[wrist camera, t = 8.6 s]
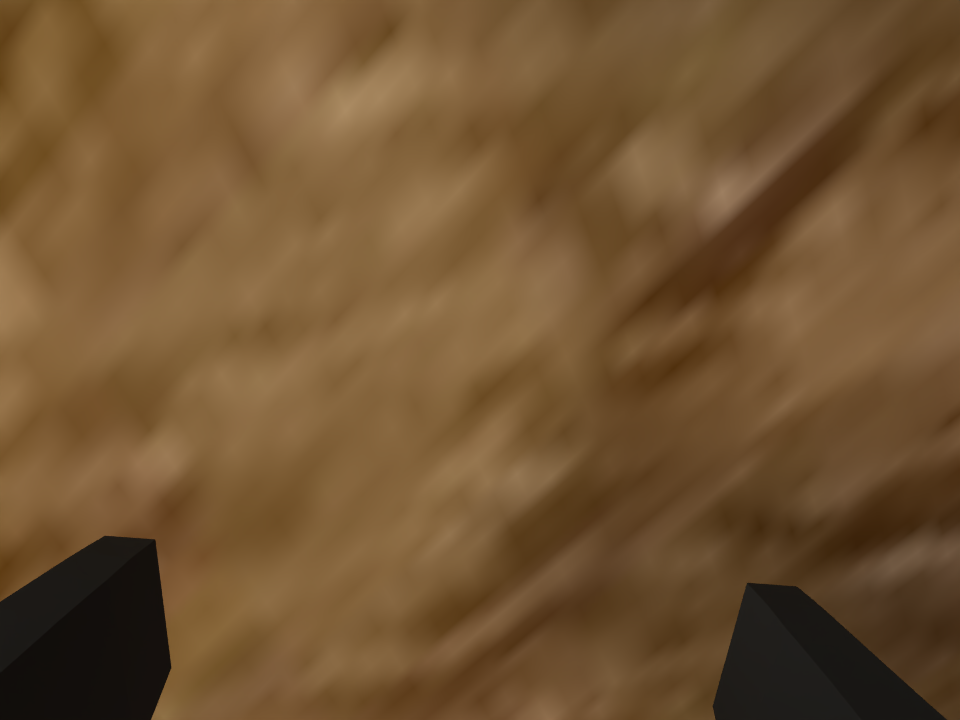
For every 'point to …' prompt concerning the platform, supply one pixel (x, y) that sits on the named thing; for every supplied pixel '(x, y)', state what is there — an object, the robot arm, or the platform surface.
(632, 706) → the platform surface
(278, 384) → the platform surface
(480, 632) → the platform surface
